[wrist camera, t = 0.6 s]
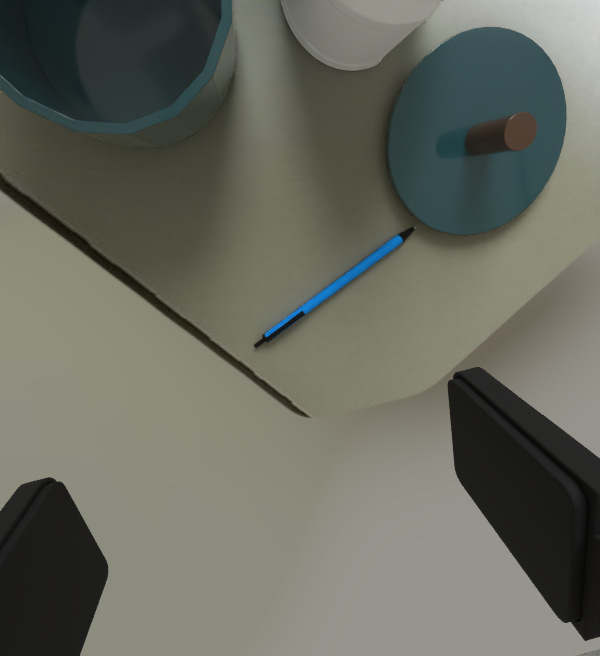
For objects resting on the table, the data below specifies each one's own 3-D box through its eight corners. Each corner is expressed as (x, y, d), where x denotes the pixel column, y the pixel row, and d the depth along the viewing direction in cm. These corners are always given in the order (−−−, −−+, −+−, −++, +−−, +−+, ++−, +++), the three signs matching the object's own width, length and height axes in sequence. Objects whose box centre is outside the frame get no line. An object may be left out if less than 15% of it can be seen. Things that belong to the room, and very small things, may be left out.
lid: (361, 74, 32) (389, 47, 26) (546, 1, 32) (619, -44, 26) (408, 258, 38) (440, 273, 32) (564, 197, 38) (627, 200, 32)
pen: (252, 341, 39) (252, 345, 38) (411, 222, 37) (416, 223, 36) (257, 347, 39) (258, 352, 38) (415, 230, 37) (420, 231, 36)
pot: (-29, -52, 26) (-168, -172, 17) (180, -136, 26) (148, -298, 17) (92, 175, 32) (33, 172, 23) (265, 107, 32) (273, 78, 23)
